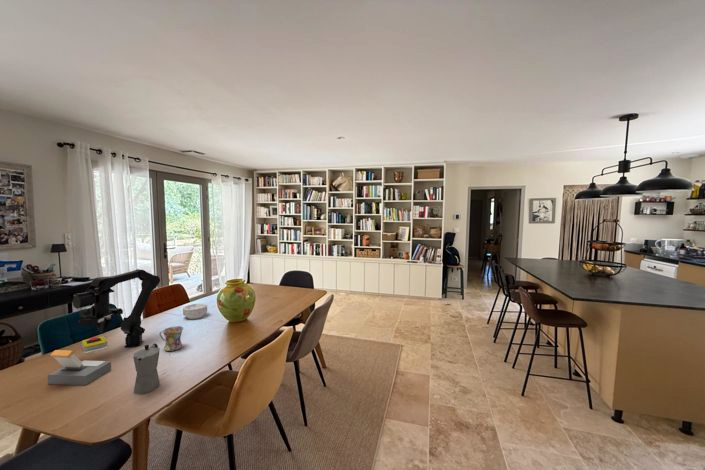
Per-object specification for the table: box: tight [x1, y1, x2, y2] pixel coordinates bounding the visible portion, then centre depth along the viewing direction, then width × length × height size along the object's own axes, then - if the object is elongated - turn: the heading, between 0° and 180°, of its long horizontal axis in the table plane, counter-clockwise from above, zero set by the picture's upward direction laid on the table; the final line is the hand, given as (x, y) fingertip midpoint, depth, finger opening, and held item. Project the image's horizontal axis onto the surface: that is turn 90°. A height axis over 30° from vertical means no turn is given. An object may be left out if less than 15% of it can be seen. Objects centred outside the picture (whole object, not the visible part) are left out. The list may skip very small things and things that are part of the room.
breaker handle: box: [49, 349, 83, 368], centre depth 119 cm, size 2×7×10 cm, turn 89°
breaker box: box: [47, 360, 112, 386], centre depth 123 cm, size 12×16×4 cm
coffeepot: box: [132, 343, 161, 395], centre depth 117 cm, size 15×9×18 cm, turn 13°
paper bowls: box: [182, 303, 208, 320], centre depth 200 cm, size 15×15×8 cm
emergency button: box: [80, 335, 109, 354], centre depth 152 cm, size 9×4×15 cm
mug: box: [159, 325, 184, 352], centre depth 151 cm, size 12×9×11 cm
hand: (102, 333), depth 140 cm, fingers closed
